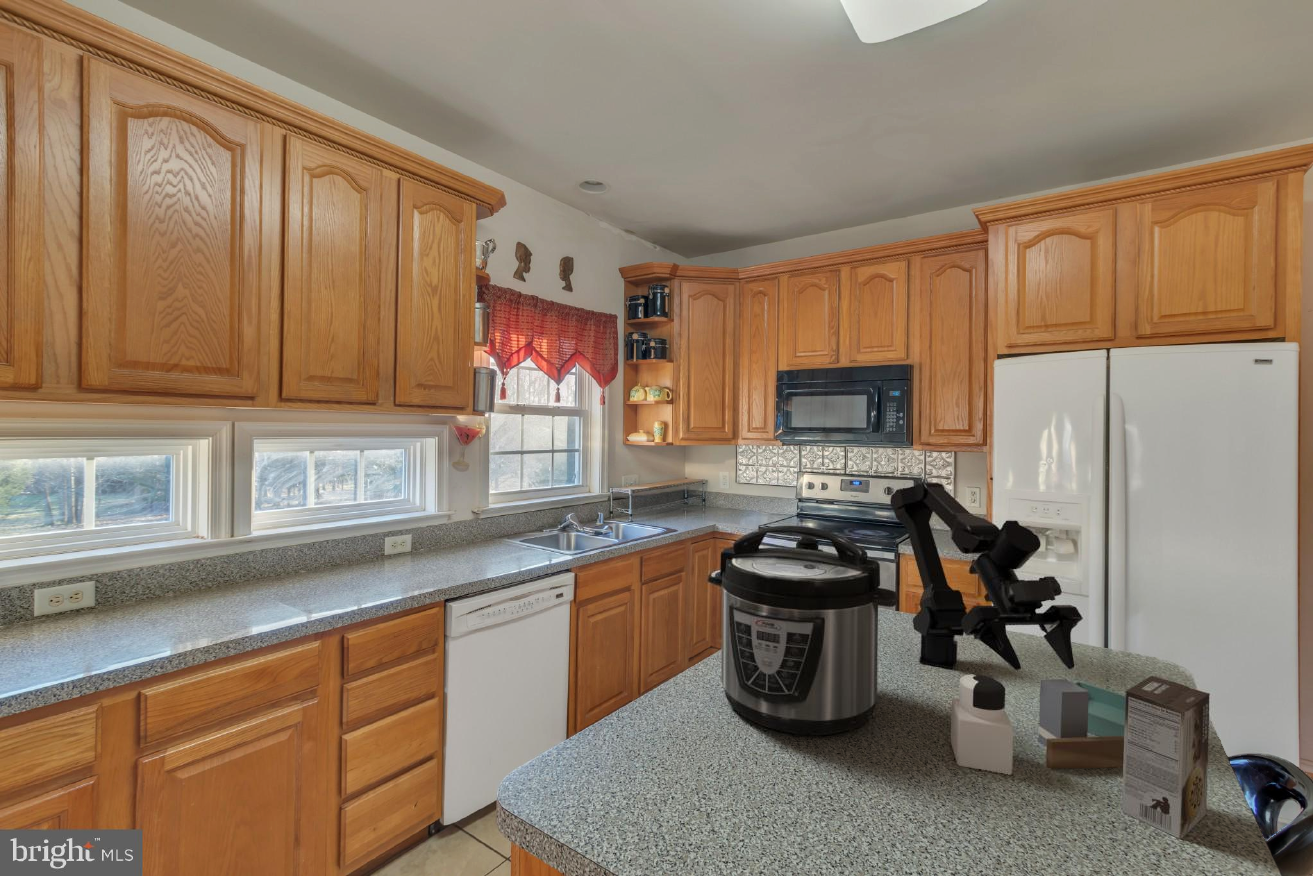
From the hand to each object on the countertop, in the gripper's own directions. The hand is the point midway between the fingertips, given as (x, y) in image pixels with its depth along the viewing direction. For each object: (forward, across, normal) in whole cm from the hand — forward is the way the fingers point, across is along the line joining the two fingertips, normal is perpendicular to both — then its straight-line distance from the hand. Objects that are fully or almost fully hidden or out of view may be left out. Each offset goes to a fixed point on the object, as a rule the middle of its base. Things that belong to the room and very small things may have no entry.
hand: (1045, 668), depth 96 cm
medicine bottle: (+12, -15, +4) cm, 19 cm away
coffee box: (+22, +1, -6) cm, 23 cm away
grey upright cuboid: (+10, 0, +5) cm, 12 cm away
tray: (+5, +14, +11) cm, 19 cm away
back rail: (+14, 0, +2) cm, 14 cm away
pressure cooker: (-1, -37, +17) cm, 41 cm away
